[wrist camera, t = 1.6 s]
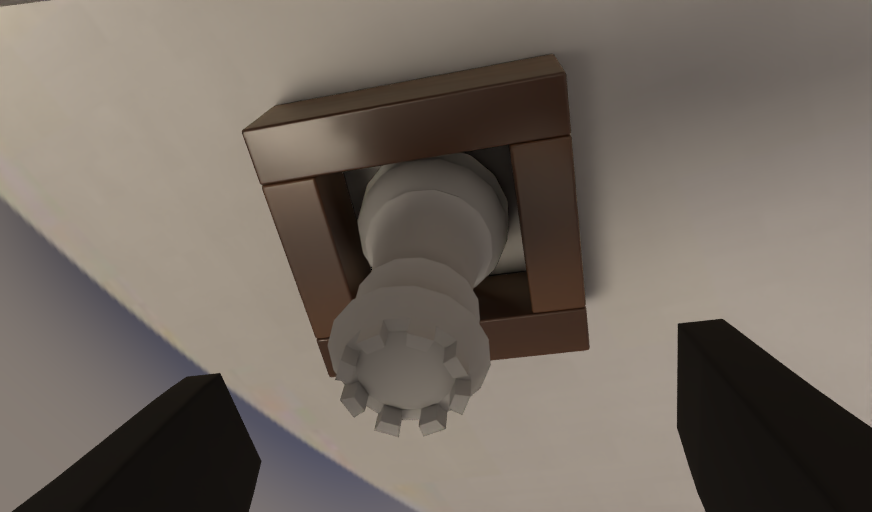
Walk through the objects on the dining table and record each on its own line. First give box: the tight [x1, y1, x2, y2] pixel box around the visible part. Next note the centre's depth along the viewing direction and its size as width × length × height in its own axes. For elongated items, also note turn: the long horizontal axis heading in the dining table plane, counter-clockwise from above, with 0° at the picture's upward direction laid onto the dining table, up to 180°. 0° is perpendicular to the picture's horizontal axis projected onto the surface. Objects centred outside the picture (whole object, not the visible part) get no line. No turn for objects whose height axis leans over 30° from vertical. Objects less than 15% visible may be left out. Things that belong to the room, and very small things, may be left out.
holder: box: [242, 54, 590, 377], centre depth 16 cm, size 8×8×2 cm
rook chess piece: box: [328, 152, 509, 437], centre depth 14 cm, size 4×4×8 cm
